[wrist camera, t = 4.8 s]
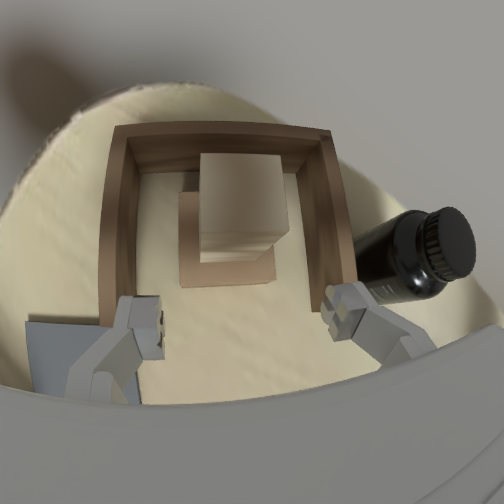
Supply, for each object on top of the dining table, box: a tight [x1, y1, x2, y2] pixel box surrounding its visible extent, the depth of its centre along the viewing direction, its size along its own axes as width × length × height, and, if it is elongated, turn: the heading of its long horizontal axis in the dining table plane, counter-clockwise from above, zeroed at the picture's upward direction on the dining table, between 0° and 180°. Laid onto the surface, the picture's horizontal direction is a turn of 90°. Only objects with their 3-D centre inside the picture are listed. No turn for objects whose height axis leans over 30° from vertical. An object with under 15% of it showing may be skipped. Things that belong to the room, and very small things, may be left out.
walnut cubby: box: [98, 121, 358, 327], centre depth 21 cm, size 14×17×6 cm
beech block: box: [199, 153, 289, 263], centre depth 17 cm, size 4×4×8 cm
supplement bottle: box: [353, 207, 476, 305], centre depth 20 cm, size 7×7×12 cm
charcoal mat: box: [25, 321, 141, 404], centre depth 18 cm, size 11×11×1 cm
